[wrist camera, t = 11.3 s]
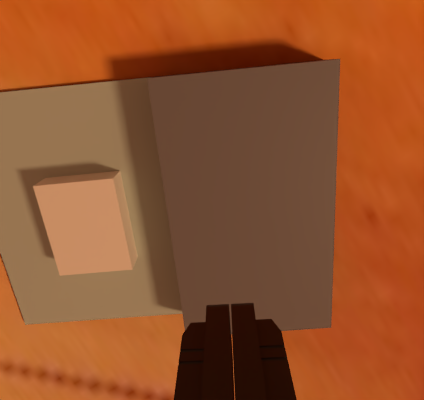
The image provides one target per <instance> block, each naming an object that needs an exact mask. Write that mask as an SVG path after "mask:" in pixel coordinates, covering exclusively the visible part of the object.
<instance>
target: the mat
mask: <svg viewBox="0 0 424 400" xmlns="http://www.w3.org/2000/svg"><path fill="white" fill-rule="evenodd" d="M148 78H151V77H148ZM110 171H120V172H121V177H122V182H123V187H124V191H125V196H126V201H127V206H128V211H129V216H130V221H131V226H132V231H133V236H134V241H135V245H136V250H137V255H138V257H137V260H136V262H135V265H134V267H133V270H122V271H110V272H98V273H86V274H74V275H62V276H60V275H59V271H58V268H57V265H56V261H55V258H54V255H53V251H52V248H51V245H50V241H49V238H48V235H47V231H46V228H45V225H44V221H43V218H42V215H41V211H40V208H39V205H38V201H37V198H36V195H35V192H34V188H33V186H34V185H36V184H37V183H39V182H40V181H42V180H43V179H45V178H49V177H59V176H70V175H80V174H90V173H100V172H110ZM0 254H1V256H2V259H3V262H4V265H5V268H6V271H7V274H8V276H9V279H10V282H11V285H12V288H13V291H14V293H15V296H16V299H17V302H18V305H19V308H20V310H21V313H22V316H23V319H24V322H25V325H27V324H41V323H55V322H69V321H83V320H97V319H112V318H126V317H140V316H154V315H168V314H182V306H181V300H180V293H179V286H178V280H177V273H176V267H175V260H174V253H173V247H172V240H171V234H170V227H169V220H168V214H167V207H166V201H165V194H164V187H163V181H162V174H161V168H160V161H159V154H158V148H157V141H156V135H155V128H154V121H153V115H152V108H151V102H150V95H149V88H148V82H147V78H138V79H128V80H118V81H108V82H98V83H88V84H78V85H68V86H58V87H48V88H38V89H28V90H18V91H8V92H0Z"/></svg>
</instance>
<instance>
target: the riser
mask: <svg viewBox="0 0 424 400" xmlns="http://www.w3.org/2000/svg"><path fill="white" fill-rule="evenodd" d="M339 76H340V59H331V60H318V61H308V62H298V63H288V64H278V65H268V66H258V67H248V68H238V69H228V70H218V71H208V72H198V73H188V74H178V75H168V76H158V77H152V78H147V82H148V88H149V95H150V102H151V108H152V115H153V121H154V128H155V135H156V141H157V148H158V154H159V161H160V168H161V174H162V181H163V187H164V194H165V201H166V207H167V214H168V220H169V227H170V234H171V240H172V247H173V253H174V260H175V267H176V273H177V280H178V286H179V293H180V300H181V306H182V313H183V319H184V326H185V330H186V329H187V327H188V326H189V324H190V323H194V322H206V306H207V305H218V304H229V311H230V326H231V334H232V317H231V304H237V303H253V304H254V310H255V318H256V320H257V319H272V320H273V321H274V323H275V324H276V325H277V326H278V328H279V329H280V330H281V331H287V330H301V329H316V328H331V316H332V286H333V256H334V226H335V196H336V166H337V136H338V106H339Z"/></svg>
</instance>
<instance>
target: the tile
mask: <svg viewBox="0 0 424 400" xmlns="http://www.w3.org/2000/svg"><path fill="white" fill-rule="evenodd" d="M33 188H34V192H35V195H36V198H37V201H38V205H39V208H40V211H41V215H42V218H43V221H44V225H45V228H46V231H47V235H48V238H49V241H50V245H51V248H52V251H53V255H54V258H55V261H56V265H57V268H58V271H59V275H60V276H62V275H74V274H86V273H98V272H110V271H122V270H133V267H134V265H135V262H136V260H137V257H138V255H137V250H136V245H135V241H134V236H133V231H132V226H131V221H130V216H129V211H128V206H127V201H126V196H125V191H124V187H123V182H122V177H121V172H120V171H110V172H100V173H90V174H80V175H70V176H59V177H49V178H45V179H43V180H42V181H40V182H39V183H37V184H36V185H34V186H33Z"/></svg>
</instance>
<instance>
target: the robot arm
mask: <svg viewBox="0 0 424 400" xmlns="http://www.w3.org/2000/svg"><path fill="white" fill-rule="evenodd" d="M231 317H232V338H233V357H232V340H231V326H230V311H229V304H218V305H207V306H206V322H194V323H190V324H189V326H188V327H187V329H186V330H185V332H184V333H183V335H182V342H181V349H180V350H181V352H180V357H179V365H178V372H177V380H176V387H175V395H174V400H234V380H235V400H296V395H295V391H294V386H293V382H292V377H291V373H290V369H289V364H288V360H287V355H286V351H285V348H284V342H283V337H282V333H281V330H280V329H279V328H278V326H277V325H276V324H275V323H274V321H273V320H272V319H257V320H256V318H255V310H254V304H253V303H237V304H231ZM233 359H234V379H233Z"/></svg>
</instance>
